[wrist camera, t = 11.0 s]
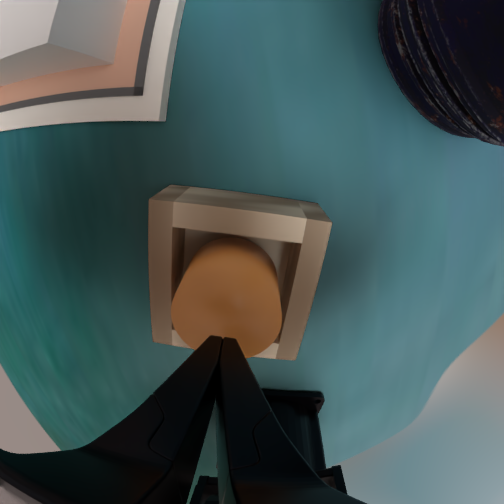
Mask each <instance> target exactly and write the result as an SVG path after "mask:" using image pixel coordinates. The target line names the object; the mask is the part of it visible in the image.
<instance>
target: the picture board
mask: <svg viewBox="0 0 504 504" xmlns="http://www.w3.org/2000/svg"><path fill="white" fill-rule="evenodd" d="M185 2H186V0H128V1H127V4H126V8H125V12H124V16H123V20H122V24H121V29H120V33H119V38H118V43H117V48H116V53H115V59H114V64H110V65H101V66H93V67H86V68H79V69H73V70H67V71H62V72H57V73H52V74H47V75H43V76H38V77H34V78H30V79H26V80H22V81H19V82H15V83H12V84H8V85H5V86H2V87H0V131H6V130H12V129H19V128H26V127H34V126H43V125H53V124H64V123H78V122H98V121H166V114H167V106H168V98H169V90H170V83H171V76H172V70H173V63H174V57H175V51H176V46H177V40H178V35H179V30H180V25H181V20H182V15H183V11H184V6H185Z"/></svg>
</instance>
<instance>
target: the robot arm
mask: <svg viewBox="0 0 504 504" xmlns="http://www.w3.org/2000/svg"><path fill="white" fill-rule="evenodd" d="M215 398H216V440H217V466H216V468H217V469H218V477H209V476H200V477H199V480H198V483H197V485H196V486H195V489H194V492H193V495H192V498H191V501H190V504H367V503H365V502H362V501H360V500H357V499H355V498H353V497H351V496H349V495H347V490H346V486H345V482H344V478H343V474H342V469H341V466H340V465H337V466H332V468H328V469H326V464H325V457H324V450H323V444H322V437H321V431H320V425H319V418H318V413H319V411H320V409H321V407H322V405H323V403H324V395H323V394H321V393H301V392H281V391H267V390H261V388H260V386H259V384H258V382H257V380H256V378H255V376H254V374H253V372H252V370H251V368H250V366H249V364H248V362H247V360H246V358H245V356H244V354H243V352H242V350H241V348H240V345H239V343H238V341H237V339H235V338H230V337H224V338H222V337H221V336H215V335H210V336H209V337H208V338H207V339H206V340H205V341H204V342H203V343H202V344H201V345H200V346H199V347H198V348H197V349H196V350H195V351H194V352H193V353H192V354H191V355H190V356H189V357H188V358H187V359H186V360H185V361H184V363H183V364H182V365H181V366H180V367H179V368H178V369H177V370H176V371H175V372H174V373H173V374H172V375H171V376H170V377H169V378H168V379H167V380H166V381H165V382H164V383H163V384H162V385H161V386H160V387H159V388H158V389H157V390H156V391H155V392H154V393H153V395H151V396H150V397H149V398H148V399H147V400H146V401H145V402H144V403H142V404H141V405H140V406H139V407H138V408H137V409H136V410H135V411H134V412H132V413H131V414H130V415H128V416H127V417H126V418H125V419H123V420H122V421H121V422H119V423H118V424H117V425H115V426H114V427H112V428H111V429H110V430H108V431H107V432H105V433H104V434H103V435H101V436H100V437H98V438H97V439H95V440H94V441H92V442H91V443H89V444H87V445H85V446H83V447H80V448H77V449H73V450H65V451H56V452H45V453H32V454H16V453H10V452H7V451H4V450H2V449H0V504H186V503H187V499H188V496H189V492H190V489H191V485H192V482H193V478H194V474H195V471H196V467H197V464H198V460H199V457H200V453H201V450H202V446H203V443H204V439H205V436H206V432H207V428H208V425H209V421H210V418H211V414H212V411H213V407H214V403H215Z"/></svg>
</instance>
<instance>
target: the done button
mask: <svg viewBox="0 0 504 504" xmlns="http://www.w3.org/2000/svg"><path fill="white" fill-rule="evenodd" d="M171 319H172V323H173V326H174V328H175V330H176V332H177V333H178V335H179V336H180V338H181V339H182V340H183V341H184V342H185V343H186V344H187V345H188V346H189V347H191V348H192V349H194V350H196V349H197V348H198V347H199V346H200V345H201V344H202V343H203V342H204V341H205V340H206V339H207V338H208V337H209V336H210V335H215V336H221V337H222V338H224V337H230V338H235V339H237V341H238V343H239V345H240V348H241V350H242V352H243V354H244V356H245V358H249V357H252V356H255V355H257V354H259V353H261V352H263V351H264V350H265V349H267V348H268V347H269V346H270V345H271V344H272V343H273V342H274V341H275V339H276V338H277V336H278V334H279V332H280V329H281V324H282V311H281V302H280V294H279V285H278V277H277V271H276V267H275V265H274V263H273V261H272V259H271V258H270V256H269V255H268V254H267V253H266V252H265V251H264V250H263V249H262V248H261V247H259V246H258V245H256V244H255V243H252V242H250V241H248V240H245V239H240V238H231V237H230V238H221V239H217V240H214V241H211V242H209V243H207V244H206V245H204V246H202V247H201V248H200V249H199V250H198V251H197V252H196V253H195V255H194V256H193V258H192V259H191V262H190V264H189V266H188V268H187V270H186V272H185V274H184V276H183V278H182V280H181V283H180V285H179V287H178V289H177V291H176V293H175V296H174V298H173V300H172V305H171Z"/></svg>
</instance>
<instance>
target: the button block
mask: <svg viewBox="0 0 504 504" xmlns="http://www.w3.org/2000/svg"><path fill="white" fill-rule="evenodd" d="M331 226H332V222H331V220H330V219H329V218H328V216H327V215H326V214H325V212H324V211H323V210H322V208H321V207H320V206H319V204H318V203H312V202H306V201H300V200H293V199H287V198H280V197H273V196H266V195H258V194H251V193H243V192H235V191H227V190H218V189H210V188H200V187H191V186H181V185H169V186H168V187H166V188H165V189H163V190H162V191H160V192H159V193H157V194H156V195H154V196H153V197H151V198H150V199H149V214H148V261H149V291H150V310H151V325H152V337H153V342H157V343H162V344H168V345H173V346H179V347H185V348H191V347H189V346H188V345H187V344H186V343H185V342H184V341H183V340H182V339H181V338H180V336H179V335H178V333H177V332H176V330H175V328H174V326H173V323H172V319H171V305H172V300H173V298H174V296H175V293H176V291H177V289H178V287H179V285H180V283H181V280H182V278H183V276H184V274H185V272H186V270H187V268H188V266H189V264H190V262H191V259H192V258H193V256H194V255H195V253H196V252H197V251H198V250H199V249H200V248H201V247H202V246H204V245H206V244H207V243H209V242H211V241H214V240H217V239H221V238H230V237H231V238H240V239H245V240H248V241H250V242H252V243H255V244H256V245H258V246H259V247H261V248H262V249H263V250H264V251H265V252H266V253H267V254H268V255H269V256H270V258H271V259H272V261H273V263H274V265H275V267H276V271H277V277H278V285H279V294H280V302H281V311H282V324H281V329H280V332H279V334H278V336H277V338H276V339H275V341H274V342H273V343H272V344H271V345H270V346H269V347H268V348H267V349H265V350H264V351H263V352H261V353H259V354H257V355H255V356H252V357H261V358H271V359H283V360H296V357H297V354H298V351H299V348H300V344H301V341H302V338H303V334H304V331H305V327H306V324H307V321H308V317H309V313H310V310H311V306H312V303H313V299H314V295H315V292H316V288H317V284H318V280H319V276H320V272H321V268H322V264H323V260H324V256H325V252H326V248H327V244H328V239H329V235H330V231H331ZM191 349H192V348H191Z"/></svg>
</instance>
